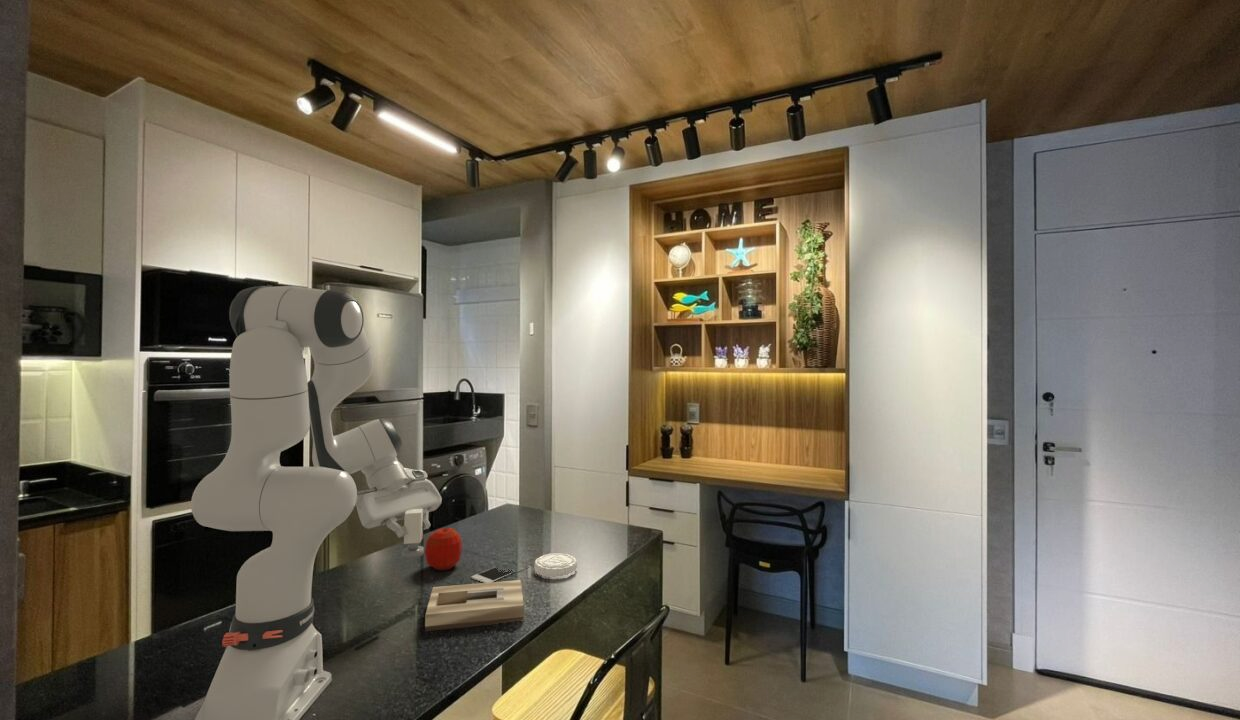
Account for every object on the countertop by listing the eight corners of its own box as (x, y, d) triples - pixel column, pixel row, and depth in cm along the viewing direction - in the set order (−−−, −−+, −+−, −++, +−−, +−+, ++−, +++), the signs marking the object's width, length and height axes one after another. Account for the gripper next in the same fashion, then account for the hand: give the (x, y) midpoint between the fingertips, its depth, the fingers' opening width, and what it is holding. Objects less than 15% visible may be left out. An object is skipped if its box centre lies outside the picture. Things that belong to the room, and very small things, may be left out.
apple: (443, 558, 151) (444, 519, 151) (469, 564, 146) (470, 524, 147) (416, 570, 142) (417, 528, 142) (443, 577, 137) (444, 534, 138)
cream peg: (422, 557, 118) (423, 513, 118) (400, 558, 116) (401, 514, 117) (424, 550, 122) (426, 507, 122) (403, 551, 121) (404, 508, 121)
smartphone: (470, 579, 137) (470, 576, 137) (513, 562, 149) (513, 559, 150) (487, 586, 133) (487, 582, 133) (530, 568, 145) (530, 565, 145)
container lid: (558, 584, 135) (558, 570, 135) (525, 574, 141) (525, 561, 141) (585, 569, 145) (585, 557, 145) (553, 560, 151) (553, 548, 151)
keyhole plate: (523, 621, 114) (523, 605, 114) (424, 631, 109) (425, 614, 109) (520, 594, 128) (520, 579, 128) (432, 602, 123) (433, 587, 123)
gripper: (355, 484, 114) (381, 535, 109) (430, 470, 132) (455, 513, 127) (343, 501, 116) (368, 552, 111) (419, 485, 134) (443, 528, 129)
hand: (415, 531), depth 119 cm, fingers closed on cream peg, 5 cm apart
